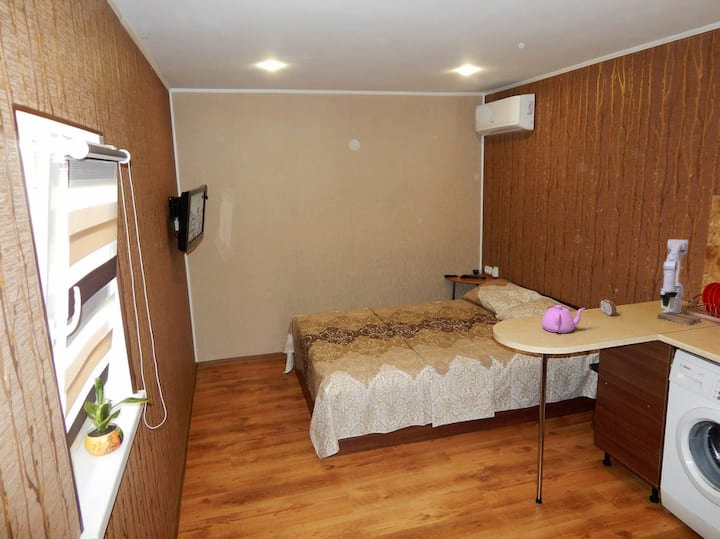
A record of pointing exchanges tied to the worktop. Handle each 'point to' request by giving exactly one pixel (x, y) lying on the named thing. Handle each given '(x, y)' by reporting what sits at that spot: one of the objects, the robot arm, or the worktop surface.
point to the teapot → (560, 319)
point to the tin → (608, 307)
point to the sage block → (670, 305)
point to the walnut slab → (679, 318)
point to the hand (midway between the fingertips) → (667, 305)
